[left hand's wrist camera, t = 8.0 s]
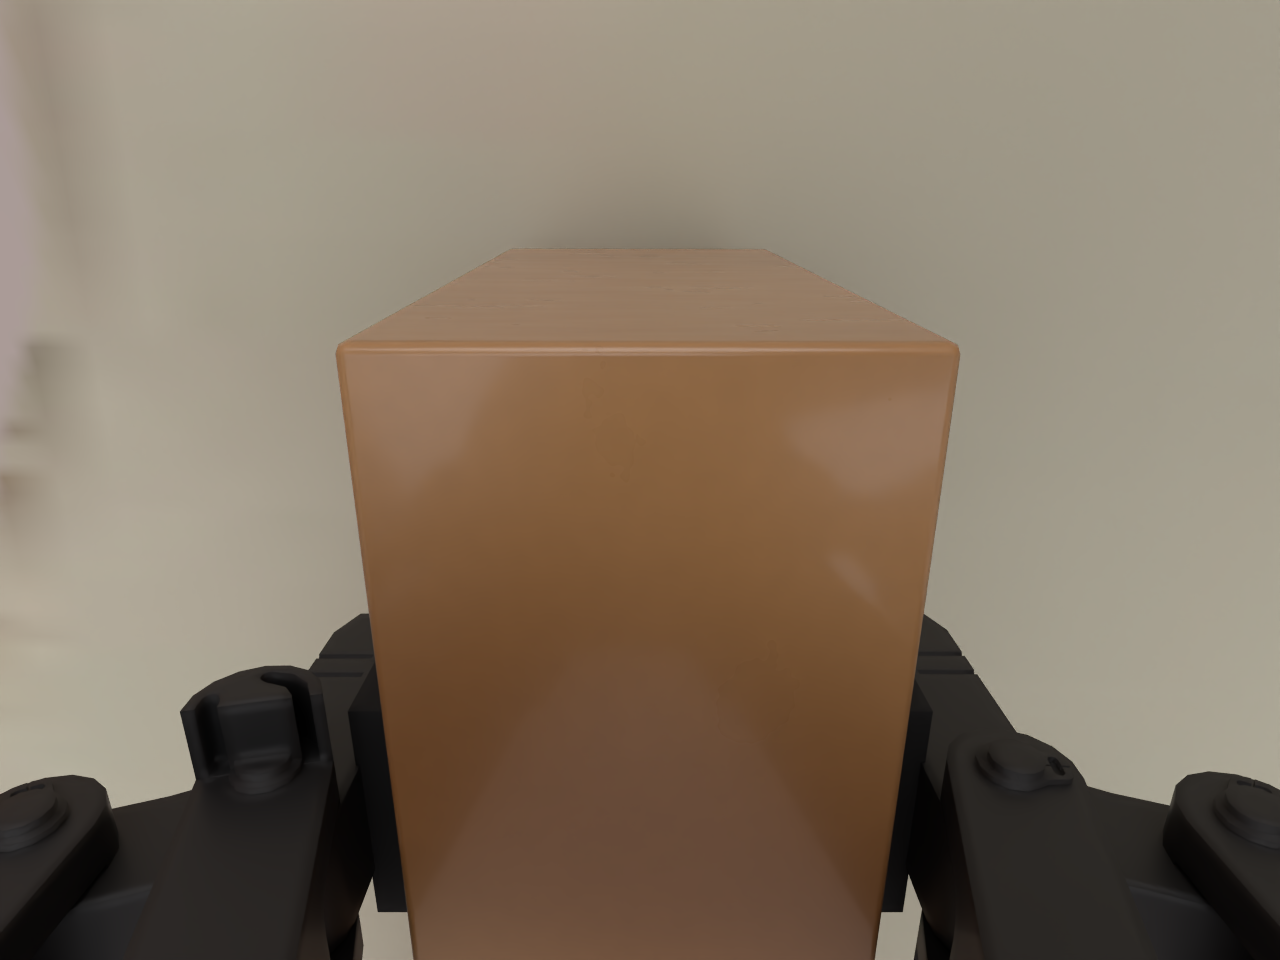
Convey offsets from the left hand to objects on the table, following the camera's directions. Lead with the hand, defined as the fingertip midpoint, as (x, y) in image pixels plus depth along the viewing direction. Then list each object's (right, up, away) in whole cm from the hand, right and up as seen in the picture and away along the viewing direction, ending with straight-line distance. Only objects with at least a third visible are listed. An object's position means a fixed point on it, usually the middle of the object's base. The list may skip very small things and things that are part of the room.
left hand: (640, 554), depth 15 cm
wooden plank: (0, -29, +12) cm, 32 cm away
